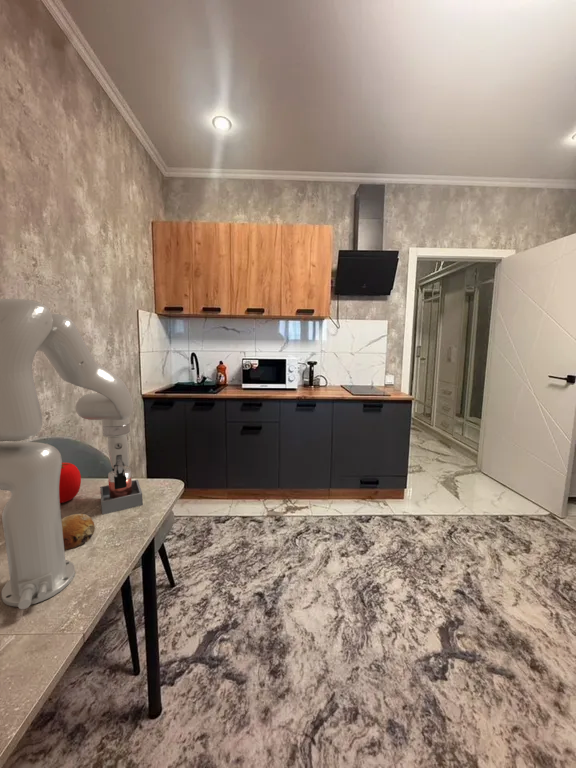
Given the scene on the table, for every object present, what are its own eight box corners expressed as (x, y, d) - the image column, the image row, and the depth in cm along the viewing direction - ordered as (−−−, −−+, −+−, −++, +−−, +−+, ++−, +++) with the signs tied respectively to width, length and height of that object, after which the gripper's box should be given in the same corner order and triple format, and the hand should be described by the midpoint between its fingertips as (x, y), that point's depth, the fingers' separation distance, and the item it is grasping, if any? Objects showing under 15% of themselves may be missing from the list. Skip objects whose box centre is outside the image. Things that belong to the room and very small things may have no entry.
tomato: (67, 510, 100) (63, 471, 98) (29, 509, 100) (24, 470, 98) (91, 490, 112) (88, 455, 110) (57, 490, 112) (54, 455, 110)
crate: (142, 505, 104) (142, 493, 103) (102, 514, 98) (101, 502, 97) (138, 490, 113) (137, 479, 113) (101, 498, 107) (100, 486, 107)
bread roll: (91, 537, 93) (85, 509, 94) (102, 536, 86) (96, 506, 87) (49, 554, 86) (43, 523, 87) (58, 555, 79) (51, 522, 80)
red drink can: (133, 500, 104) (132, 474, 103) (110, 506, 101) (108, 478, 99) (131, 492, 110) (129, 466, 108) (109, 497, 106) (107, 470, 105)
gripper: (133, 435, 96) (135, 490, 99) (127, 421, 111) (129, 470, 113) (103, 438, 92) (107, 495, 95) (101, 424, 107) (104, 474, 109)
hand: (119, 481), depth 104 cm, fingers open, 9 cm apart
